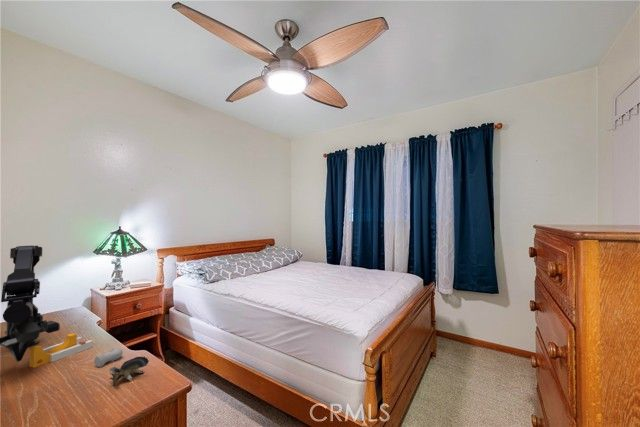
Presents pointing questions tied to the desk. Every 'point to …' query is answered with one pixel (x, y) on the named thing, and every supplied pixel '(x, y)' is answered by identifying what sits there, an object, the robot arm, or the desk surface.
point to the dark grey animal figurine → (128, 369)
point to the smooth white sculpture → (107, 357)
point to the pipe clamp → (41, 357)
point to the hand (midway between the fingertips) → (18, 361)
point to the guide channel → (69, 349)
